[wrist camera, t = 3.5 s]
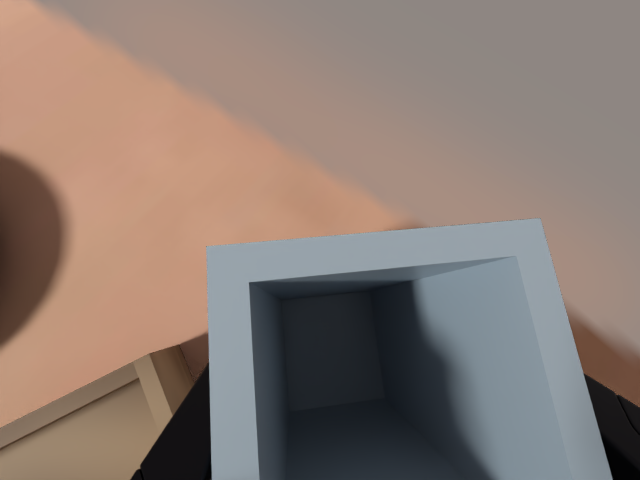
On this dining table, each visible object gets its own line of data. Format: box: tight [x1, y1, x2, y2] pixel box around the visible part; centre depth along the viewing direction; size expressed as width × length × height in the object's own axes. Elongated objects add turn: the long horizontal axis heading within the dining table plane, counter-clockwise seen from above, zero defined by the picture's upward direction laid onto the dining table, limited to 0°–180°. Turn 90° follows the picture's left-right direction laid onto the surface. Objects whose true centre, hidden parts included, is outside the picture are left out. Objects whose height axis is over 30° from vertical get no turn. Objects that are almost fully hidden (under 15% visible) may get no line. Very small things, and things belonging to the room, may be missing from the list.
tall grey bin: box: [206, 218, 613, 480], centre depth 9 cm, size 6×6×10 cm
